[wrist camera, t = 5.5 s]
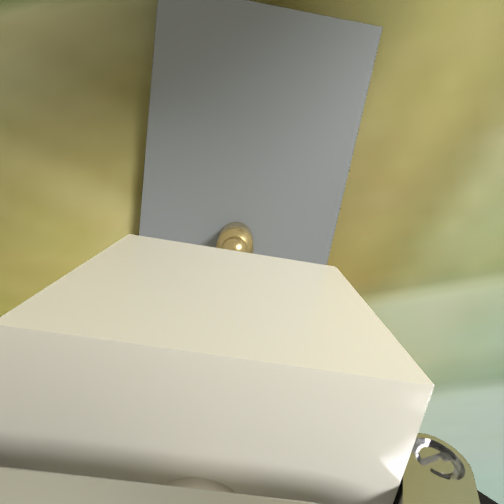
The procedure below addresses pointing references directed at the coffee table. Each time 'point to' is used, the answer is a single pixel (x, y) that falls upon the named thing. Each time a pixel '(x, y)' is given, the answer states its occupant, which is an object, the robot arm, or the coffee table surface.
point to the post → (236, 238)
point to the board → (253, 123)
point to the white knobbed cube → (209, 377)
